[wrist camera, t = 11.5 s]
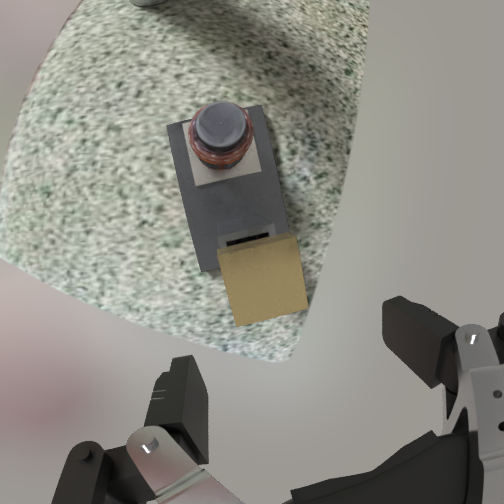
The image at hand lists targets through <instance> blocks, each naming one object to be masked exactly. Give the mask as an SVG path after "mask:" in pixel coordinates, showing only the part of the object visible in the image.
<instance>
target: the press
mask: <svg viewBox="0 0 504 504" xmlns="http://www.w3.org/2000/svg"><path fill="white" fill-rule="evenodd" d="M243 109H244V110H245V111H246V112H247V113H248V115H249V116H250V118H251V120H252V123H253V127H254V135H253V140H252V143H251V145H250V147H249V149H248V151H247V152H246V154H245V155H244V157H243V158H242V159H241V161H240V162H239V163H238V164H237V165H235V166H233V167H232V168H229V169H226V170H214V169H211V168H209V167H207V166H205V165H204V164H203V163H202V162H201V161H200V160H199V159H198V157H197V156H196V154H195V152H194V151H193V149H192V147H191V145H190V142H189V138H188V129H189V124H190V122H191V119H189V120H185V121H181V122H177V123H174V124H170V125H166V126H167V131H168V136H169V141H170V146H171V151H172V156H173V160H174V165H175V170H176V174H177V179H178V183H179V187H180V192H181V196H182V200H183V204H184V208H185V213H186V217H187V221H188V225H189V229H190V232H191V236H192V240H193V244H194V248H195V251H196V255H197V259H198V262H199V266H200V270H201V272H204V271H208V270H213V269H217V268H220V265H219V261H218V257H217V249H220V248H224V247H228V246H232V245H235V243H236V241H237V239H240V238H244V237H248V236H252V237H254V238H255V240H257V239H261V238H266V237H270V236H274V235H278V234H283V233H287V232H289V227H288V222H287V217H286V212H285V207H284V202H283V197H282V192H281V187H280V183H279V178H278V173H277V169H276V164H275V160H274V155H273V151H272V146H271V142H270V138H269V134H268V129H267V125H266V121H265V117H264V113H263V109H262V105H258V106H252V107H246V108H243ZM289 233H290V232H289Z"/></svg>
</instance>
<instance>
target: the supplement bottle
mask: <svg viewBox="0 0 504 504" xmlns="http://www.w3.org/2000/svg"><path fill="white" fill-rule="evenodd" d="M253 135H254V127H253V123H252V120H251V118H250V116H249V115H248V113H247V112H246V111H245V110H244V109H243V108H241V107H240V106H238V105H236V104H234V103H231V102H226V101H218V102H213V103H210V104H208V105H205V106H204V107H202V108H201V109H200V110H198V111H197V112H196V113H195V115H194V116H193V118H192V119H191V122H190V124H189V129H188V138H189V142H190V145H191V147H192V149H193V151H194V152H195V154H196V156H197V157H198V159H199V160H200V161H201V162H202V163H203V164H204V165H205V166H207V167H209V168H211V169H214V170H226V169H229V168H232V167H233V166H235V165H237V164H238V163H239V162H240V161H241V159H242V158H243V157H244V155H245V154H246V152H247V151H248V149H249V147H250V145H251V143H252V140H253Z"/></svg>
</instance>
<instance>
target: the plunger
mask: <svg viewBox="0 0 504 504" xmlns="http://www.w3.org/2000/svg"><path fill="white" fill-rule="evenodd" d="M217 257H218V261H219V265H220V268H221V272H222V276H223V280H224V284H225V287H226V291H227V295H228V298H229V302H230V306H231V309H232V313H233V316H234V320H235V324H236V327H239V326H243V325H247V324H251V323H255V322H259V321H263V320H267V319H271V318H275V317H278V316H282V315H286V314H289V313H293V312H296V311H300V310H303V309H307V308H308V303H307V296H306V290H305V284H304V277H303V271H302V265H301V260H300V254H299V248H298V243H297V237H296V236H294V235H292V234H291V233H289V232H287V233H283V234H278V235H274V236H270V237H266V238H261V239H257V240H255V238H254V237H252V236H248V237H244V238H240V239H237V241H236V243H235V245H232V246H228V247H224V248H220V249H217Z"/></svg>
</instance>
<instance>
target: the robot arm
mask: <svg viewBox="0 0 504 504" xmlns="http://www.w3.org/2000/svg"><path fill="white" fill-rule="evenodd" d="M129 1H130V2H131V3H132V4H135V5H138V6H150V5H155V4H159V3H162V2H164V1H166V0H129ZM382 335H383V340H384V342H385V344H386V346H387V347H388V348H389V349H390V350H391V351H393V353H394V354H395V355H397V356H398V357H399V358H400V359H401V360H402V361H403V362H404V363H405V364H406V365H407V366H408V367H409V368H410V369H411V370H412V371H413V372H414V373H415V374H416V375H418V376H419V378H421V379H422V380H423V381H424V382H425V383H426V384H427V385H428V386H429V387H430V388H431V389H432V388H434V387H436V386H437V385H439V384H440V383H442V384H443V385H444V387H443V391H442V392H443V394H442V395H443V430H442V434H441V436H438V437H437V436H436V435H435V434H434V432H433V431H432V430H431V431H429V432H427V433H426V434H424V435H423V436H421V437H419V438H418V439H416V440H414V441H412V442H411V443H409V444H407V445H405V446H403V447H402V448H401V449H400V450H398V451H397V452H396V453H395V454H394V455H392V456H391V457H390V458H389V459H387V460H386V461H385V462H384V463H382V464H381V465H380V466H378V467H377V468H376V469H374V470H372V471H370V472H366V473H361V474H356V475H351V476H345V477H339V478H333V479H328V480H325V481H322V482H319V483H315V484H312V485H309V486H305V487H302V488H298V489H294V490H291V495H292V499H290V500H288V501H286V502H284V503H282V504H504V313H502V314H501V315H500V319H499V323H498V326H497V327H494V328H492V329H489V330H486V329H485V328H484V327H482V326H480V325H476V324H467V325H464V326H461V327H458V326H457V325H455V324H454V323H452V322H451V321H449V320H447V319H446V318H444V317H442V316H441V315H438V314H437V313H436V312H434V311H431V309H429V308H427V307H426V306H424V305H421V304H417V303H413V302H411V301H409V300H407V299H406V298H404V297H402V296H397V297H394V298H392V299H389V300H386V301H384V302H383V305H382ZM208 463H209V459H208V393H207V389H206V386H205V384H204V381H203V379H202V376H201V374H200V372H199V369H198V366H197V364H196V362H195V359H194V357H193V356H192V355H188V356H183V357H177V358H173V359H172V363H171V367H170V371H169V372H163V373H162V374H161V375H160V377H159V378H158V379H157V380H156V382H155V386H154V389H153V393H152V397H151V401H150V404H149V408H148V412H147V415H146V419H145V423H144V427H143V428H140V429H138V430H136V431H135V432H134V433H132V434H131V436H130V437H129V438H128V440H127V443H126V445H125V446H121V447H117V448H113V449H109V450H104V449H103V448H102V447H101V446H100V445H99V444H98V443H96V442H93V441H85V442H81V443H79V444H77V445H76V446H75V447H73V448H72V450H71V451H70V453H69V455H68V457H67V460H66V463H65V465H64V468H63V471H62V473H61V477H60V479H59V482H58V485H57V488H56V491H55V494H54V497H53V500H52V503H51V504H146V502H147V501H151V500H156V501H157V503H158V504H245V503H244V502H242V501H241V500H240V499H238V498H237V497H236V496H235V495H234V494H233V493H231V492H230V491H229V490H228V489H227V488H225V487H224V486H223V485H222V484H221V483H220V482H219V481H217V480H216V479H215V478H214V477H213V476H212V475H211V474H210V473H209V472H207V471H206V470H205V469H201V468H200V467H199V466H198V465H202V464H208Z"/></svg>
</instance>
